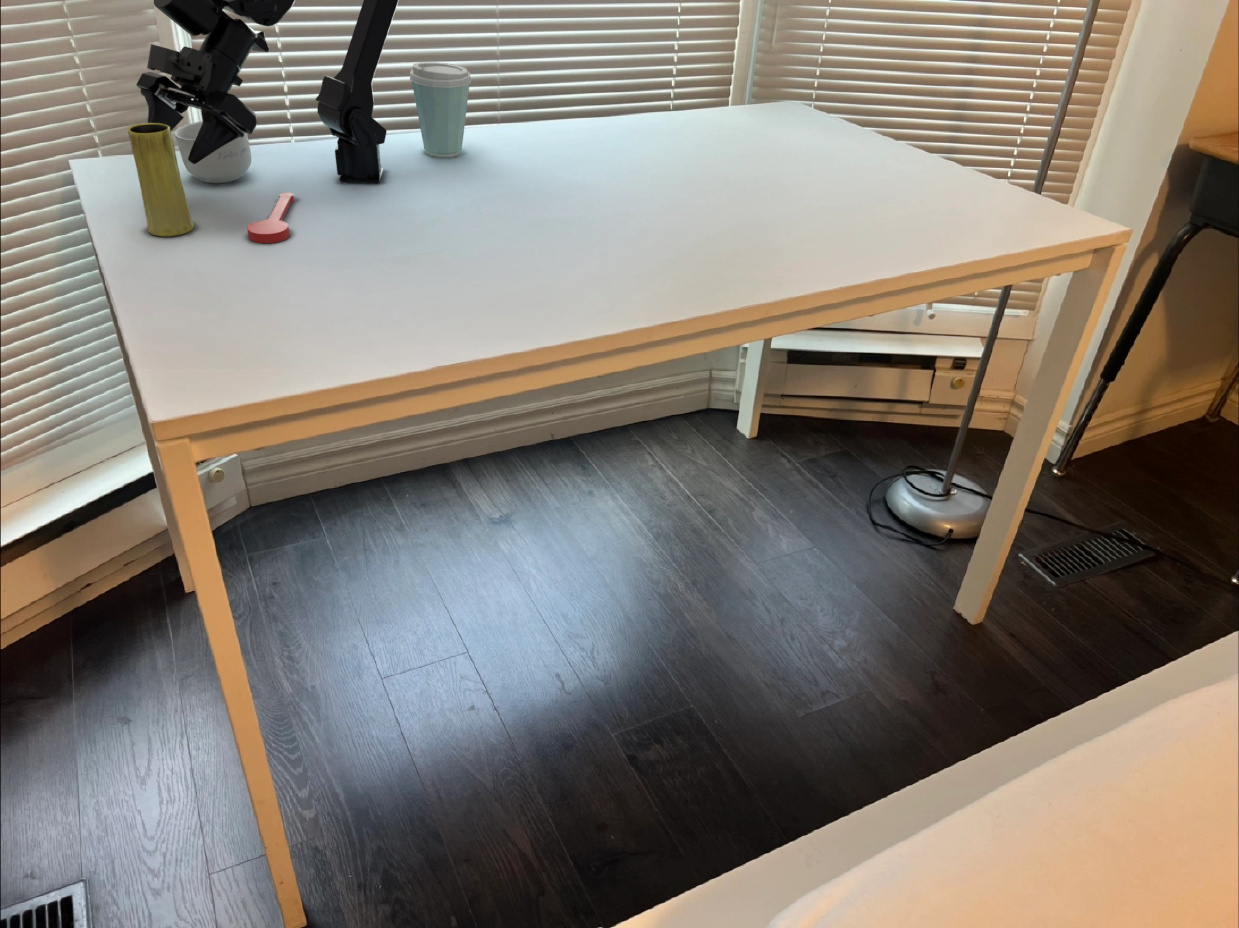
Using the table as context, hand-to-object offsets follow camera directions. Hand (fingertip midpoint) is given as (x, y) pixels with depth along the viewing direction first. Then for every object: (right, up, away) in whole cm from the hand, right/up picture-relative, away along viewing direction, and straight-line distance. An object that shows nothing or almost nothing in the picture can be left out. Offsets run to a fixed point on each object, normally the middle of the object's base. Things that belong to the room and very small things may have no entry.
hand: (169, 155), depth 133 cm
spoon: (+12, -7, +9) cm, 16 cm away
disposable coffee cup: (+31, +13, +39) cm, 52 cm away
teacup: (-2, +4, +24) cm, 25 cm away
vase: (-2, -9, +4) cm, 10 cm away
